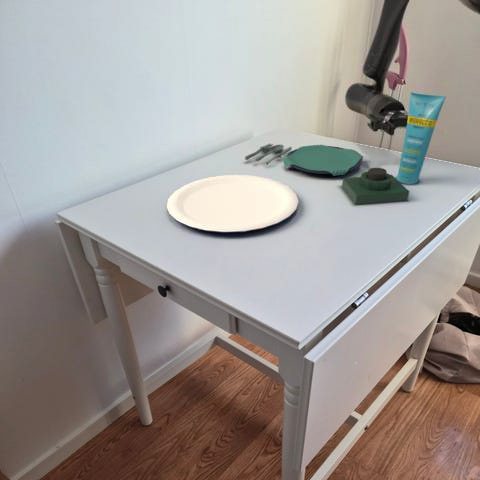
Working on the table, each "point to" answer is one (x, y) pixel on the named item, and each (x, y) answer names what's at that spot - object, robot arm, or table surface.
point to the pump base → (374, 189)
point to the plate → (232, 203)
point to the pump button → (376, 174)
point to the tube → (418, 134)
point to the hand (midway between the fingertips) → (410, 129)
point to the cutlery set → (315, 158)
